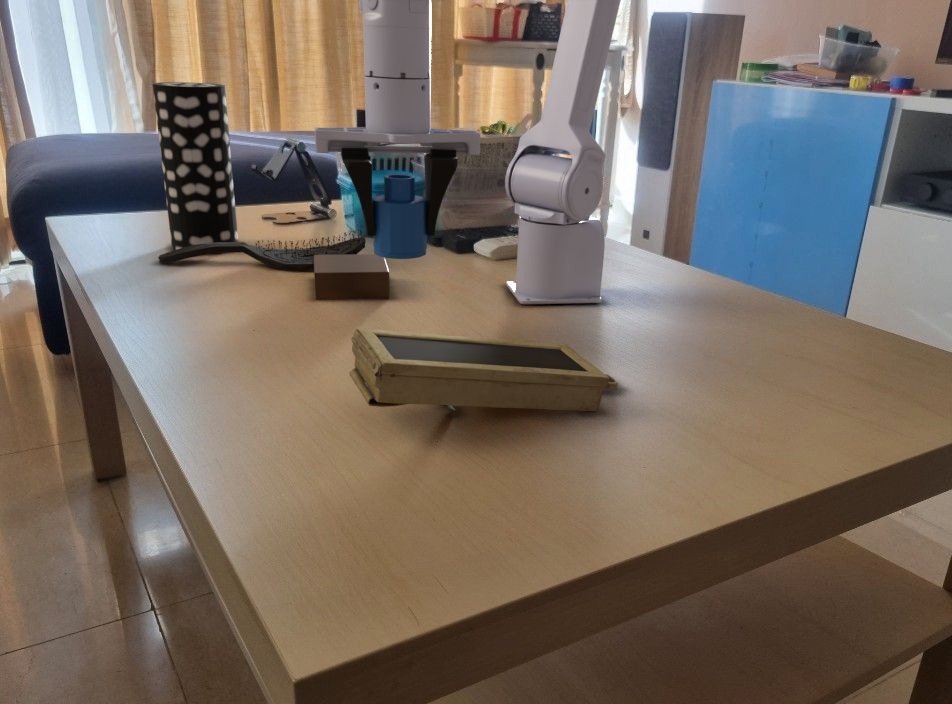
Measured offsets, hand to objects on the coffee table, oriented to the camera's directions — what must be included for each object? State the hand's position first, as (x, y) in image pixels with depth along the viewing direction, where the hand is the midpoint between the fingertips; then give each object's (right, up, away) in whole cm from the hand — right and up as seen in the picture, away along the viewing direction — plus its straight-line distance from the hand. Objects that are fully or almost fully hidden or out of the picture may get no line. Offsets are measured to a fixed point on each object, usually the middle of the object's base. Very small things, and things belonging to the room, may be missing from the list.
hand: (399, 233), depth 78 cm
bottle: (0, -2, +1) cm, 2 cm away
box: (+9, -16, -11) cm, 21 cm away
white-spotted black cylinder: (-30, +5, +32) cm, 44 cm away
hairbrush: (-20, +1, +26) cm, 33 cm away
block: (-8, -3, +17) cm, 19 cm away
